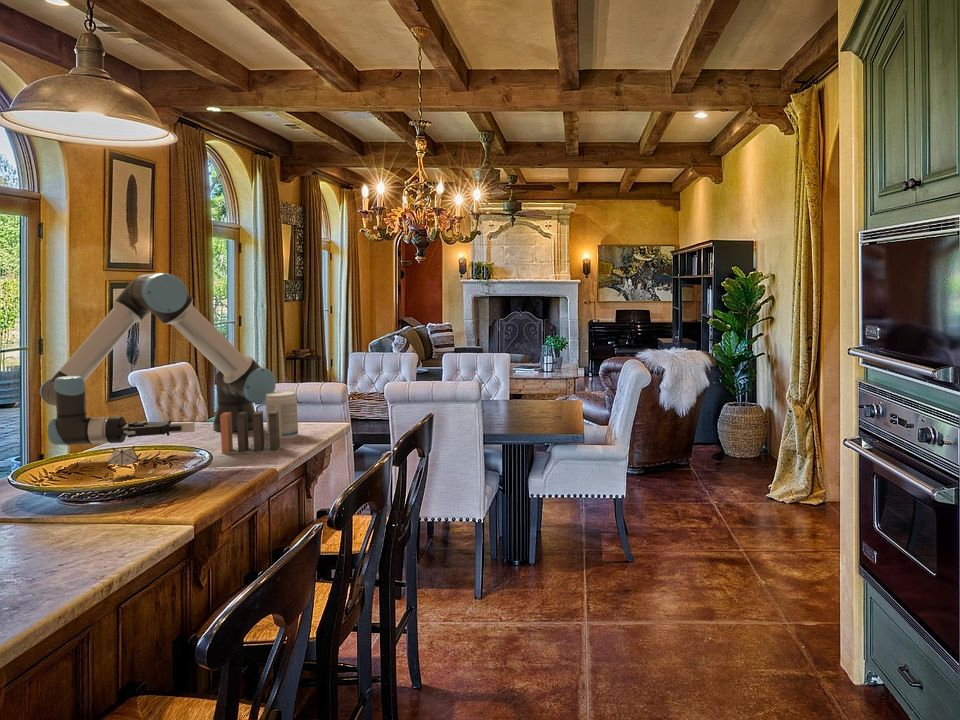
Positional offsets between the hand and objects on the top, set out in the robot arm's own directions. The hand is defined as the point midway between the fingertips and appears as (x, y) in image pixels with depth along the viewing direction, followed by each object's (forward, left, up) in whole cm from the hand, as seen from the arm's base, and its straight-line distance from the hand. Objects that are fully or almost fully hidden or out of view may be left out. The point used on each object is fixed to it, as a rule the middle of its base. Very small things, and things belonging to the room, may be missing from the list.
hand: (194, 426), depth 220 cm
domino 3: (0, +18, -7) cm, 20 cm away
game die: (+24, -12, -9) cm, 28 cm away
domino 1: (0, +9, -7) cm, 12 cm away
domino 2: (0, +14, -7) cm, 16 cm away
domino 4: (0, +23, -7) cm, 24 cm away
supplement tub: (-21, +22, -9) cm, 32 cm away
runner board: (0, +16, -8) cm, 18 cm away
